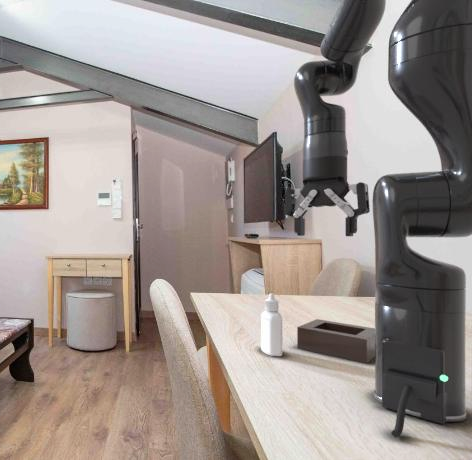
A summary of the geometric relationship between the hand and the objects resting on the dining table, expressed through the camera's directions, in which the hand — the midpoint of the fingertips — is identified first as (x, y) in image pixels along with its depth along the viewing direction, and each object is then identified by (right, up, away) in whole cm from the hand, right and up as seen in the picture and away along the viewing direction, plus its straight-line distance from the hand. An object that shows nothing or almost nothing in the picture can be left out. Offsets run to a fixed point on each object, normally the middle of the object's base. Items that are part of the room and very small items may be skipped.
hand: (324, 236), depth 79 cm
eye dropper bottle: (-11, -24, -1) cm, 27 cm away
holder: (+4, -24, +1) cm, 24 cm away
